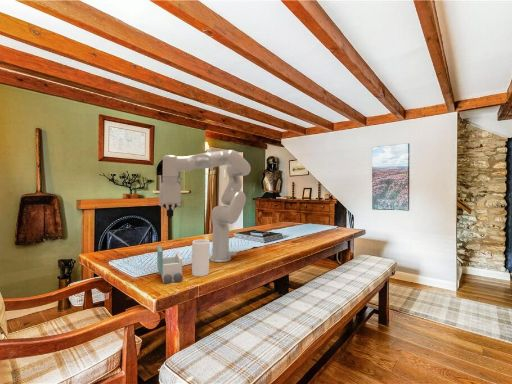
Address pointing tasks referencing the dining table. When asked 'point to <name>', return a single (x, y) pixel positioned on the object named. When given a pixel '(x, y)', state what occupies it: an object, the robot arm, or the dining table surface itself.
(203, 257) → the cup
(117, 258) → the dining table surface
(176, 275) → the cart
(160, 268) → the tailgate
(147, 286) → the dining table surface
